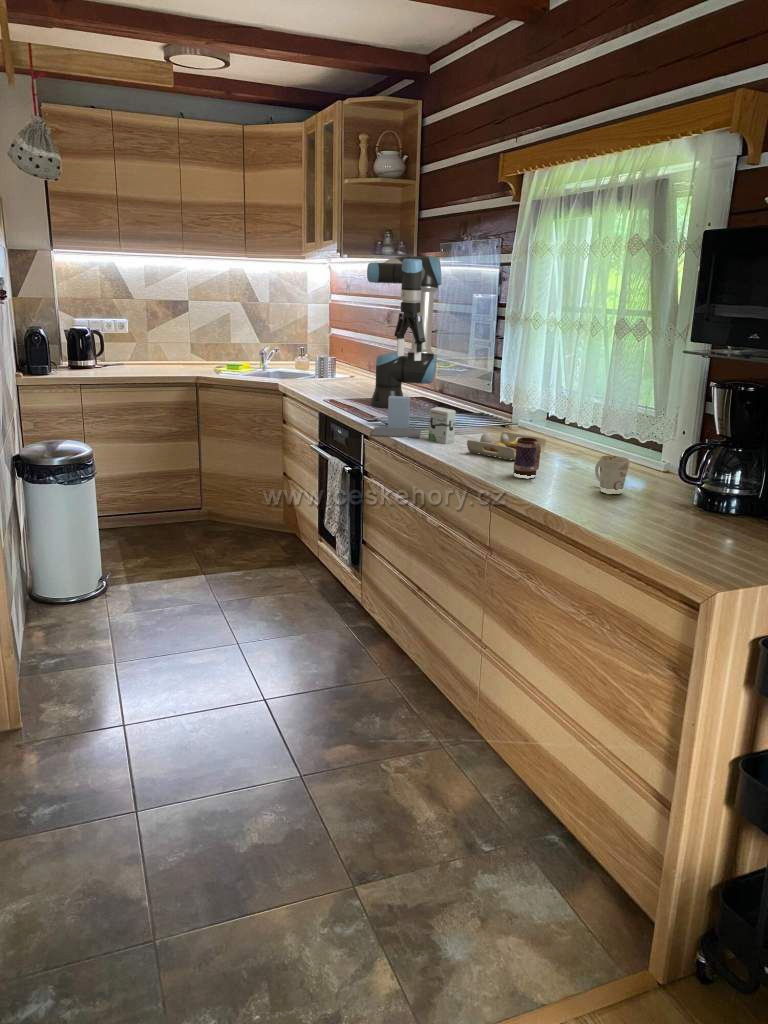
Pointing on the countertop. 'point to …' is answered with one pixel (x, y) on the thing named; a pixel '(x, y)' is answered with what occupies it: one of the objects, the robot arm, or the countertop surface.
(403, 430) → the mat
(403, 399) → the block
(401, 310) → the robot arm
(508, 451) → the toy food set
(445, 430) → the ink box
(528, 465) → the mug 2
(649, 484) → the countertop surface
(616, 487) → the mug
